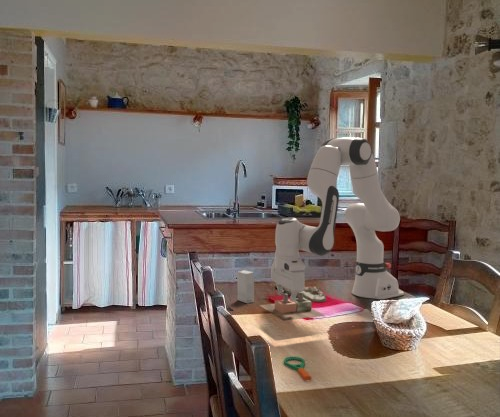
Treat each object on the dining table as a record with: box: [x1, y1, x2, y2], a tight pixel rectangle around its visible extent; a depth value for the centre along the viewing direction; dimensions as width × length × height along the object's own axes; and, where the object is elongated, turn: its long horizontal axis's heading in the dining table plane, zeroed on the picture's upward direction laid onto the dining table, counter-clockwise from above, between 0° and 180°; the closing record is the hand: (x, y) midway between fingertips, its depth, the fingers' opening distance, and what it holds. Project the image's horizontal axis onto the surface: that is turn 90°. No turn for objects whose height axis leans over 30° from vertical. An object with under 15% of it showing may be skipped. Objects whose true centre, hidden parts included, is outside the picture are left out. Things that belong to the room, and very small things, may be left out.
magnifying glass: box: [283, 356, 312, 381], centre depth 148 cm, size 15×6×2 cm, turn 13°
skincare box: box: [236, 269, 255, 304], centre depth 215 cm, size 6×4×12 cm
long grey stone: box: [274, 282, 327, 303], centre depth 226 cm, size 35×5×10 cm
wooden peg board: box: [259, 292, 325, 322], centre depth 199 cm, size 17×20×8 cm
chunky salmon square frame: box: [274, 298, 297, 313], centre depth 199 cm, size 6×6×3 cm
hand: (286, 298), depth 199 cm, fingers open, 8 cm apart
